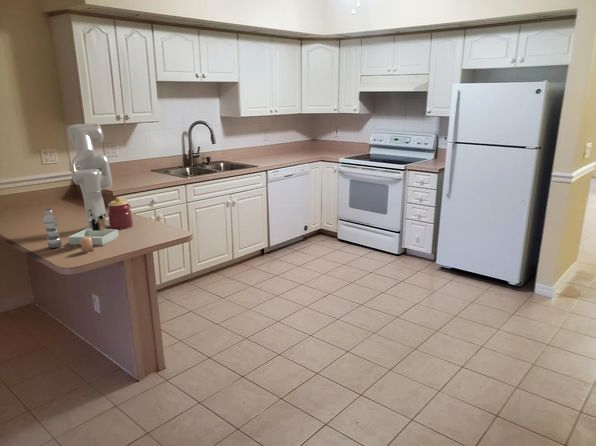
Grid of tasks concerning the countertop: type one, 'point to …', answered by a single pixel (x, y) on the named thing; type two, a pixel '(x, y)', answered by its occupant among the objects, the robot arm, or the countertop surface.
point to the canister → (119, 214)
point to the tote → (94, 236)
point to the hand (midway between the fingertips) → (99, 228)
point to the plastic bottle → (51, 229)
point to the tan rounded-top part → (86, 244)
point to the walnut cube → (101, 224)
